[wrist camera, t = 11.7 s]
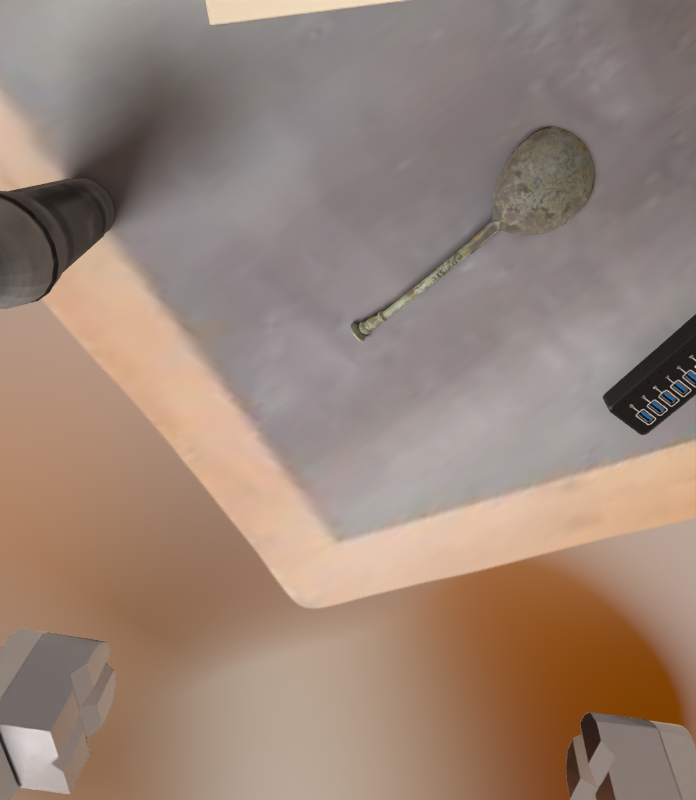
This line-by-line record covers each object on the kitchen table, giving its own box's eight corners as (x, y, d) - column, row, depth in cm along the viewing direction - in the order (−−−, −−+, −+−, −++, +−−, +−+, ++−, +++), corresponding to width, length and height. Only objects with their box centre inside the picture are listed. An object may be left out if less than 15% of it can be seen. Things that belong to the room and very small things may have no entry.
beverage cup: (24, 202, 49) (-192, 291, 31) (75, 137, 46) (-132, 195, 28) (97, 270, 51) (-67, 387, 34) (150, 212, 48) (0, 308, 31)
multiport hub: (599, 395, 53) (606, 409, 51) (747, 265, 46) (761, 275, 44) (635, 422, 54) (643, 437, 52) (785, 299, 47) (801, 310, 45)
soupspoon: (609, 180, 45) (558, 105, 43) (623, 186, 42) (569, 107, 40) (380, 356, 53) (329, 300, 51) (378, 373, 50) (324, 314, 48)
